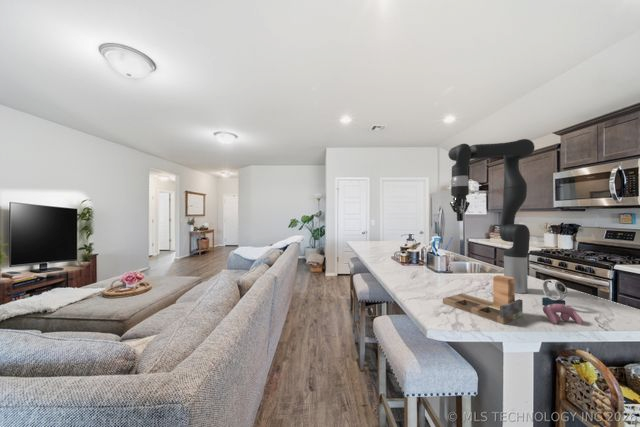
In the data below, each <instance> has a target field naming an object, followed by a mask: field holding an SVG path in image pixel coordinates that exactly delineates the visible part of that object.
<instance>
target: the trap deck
mask: <svg viewBox="0 0 640 427" xmlns="http://www.w3.org/2000/svg"><path fill="white" fill-rule="evenodd" d="M442 304H444V305H447V306H450V307H453V308H456V309H458V310H462V311H464V312H467V313H469V314H473V315H476V316H478V317H481V318H485V319H488V320H491V321H493V322H496V323H499V324H502V325H505V324H507V323H509V322H512V321H514V320H516V319H518V318H521V317H523V312H524V311H523V310H524V309H523V299H515V301H513V302H510V303H507V304H505V305H502V306H500V309H497V308H493V301H490V300H487V299H484V298H480V297H477V296H473V295H469V294H466V293H462V292H461V293H458V294H455V295H451V296H447V297H443V298H442Z"/></svg>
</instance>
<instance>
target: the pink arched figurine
mask: <svg viewBox="0 0 640 427" xmlns="http://www.w3.org/2000/svg"><path fill="white" fill-rule="evenodd" d="M542 311H543V312H542V313H544V314H545V315H546V317H547V319H548V320H549V321H550V322H551V323H552V324H554V325H557V324H558V323H559V321H560V319H561V320H562V321H563V320H564V322H570V321H569V320H570V318H571V319H572V320H573V321H574V322H575V323H577V324H578V323H579V324H578V325H580V324H582V325H583V324H584V321H583V319H582V318H581V316H580V315H579V314H578V313H577V311H576V310H575V309H573V308H572V307H571V306H570V305H566V304H565V305H562V304H550V305H546V306H544V305H543V307H542ZM559 313H560V315H559Z"/></svg>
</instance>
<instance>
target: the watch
mask: <svg viewBox="0 0 640 427" xmlns="http://www.w3.org/2000/svg"><path fill="white" fill-rule="evenodd" d="M550 282H551V285H552V289H553V291H555V293H556V294H557V296H558V297H555V296H553V295H552V293H551V291H550V289H549V286H548V283H550ZM541 288H542V292H543V294H544V296H545V297H542V298H541V301H542V302H541V304H542V306H543V307H544V306H546V305H550V304H562V305H566V300H564V299H565V298H566V296H567V293H568V288H567V286H566V285H565V284H564V283H563V282H561V281H559V280H556V279H545V280H543V282H542V284H541Z"/></svg>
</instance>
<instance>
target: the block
mask: <svg viewBox="0 0 640 427" xmlns="http://www.w3.org/2000/svg"><path fill="white" fill-rule="evenodd" d="M492 281H493V282H492V284H493V285H492V287H493V288H492V291H493V295H492V296H493V299H492V300H493V301H492V302H493V308H497V309H500V306H502V305H505V304H507V303H510V302H513V301H516V298H515V297H516V295H515V294H516V293H515V278H512V277H507V276H504V275H501V274H500V275H495V276H492Z"/></svg>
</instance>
